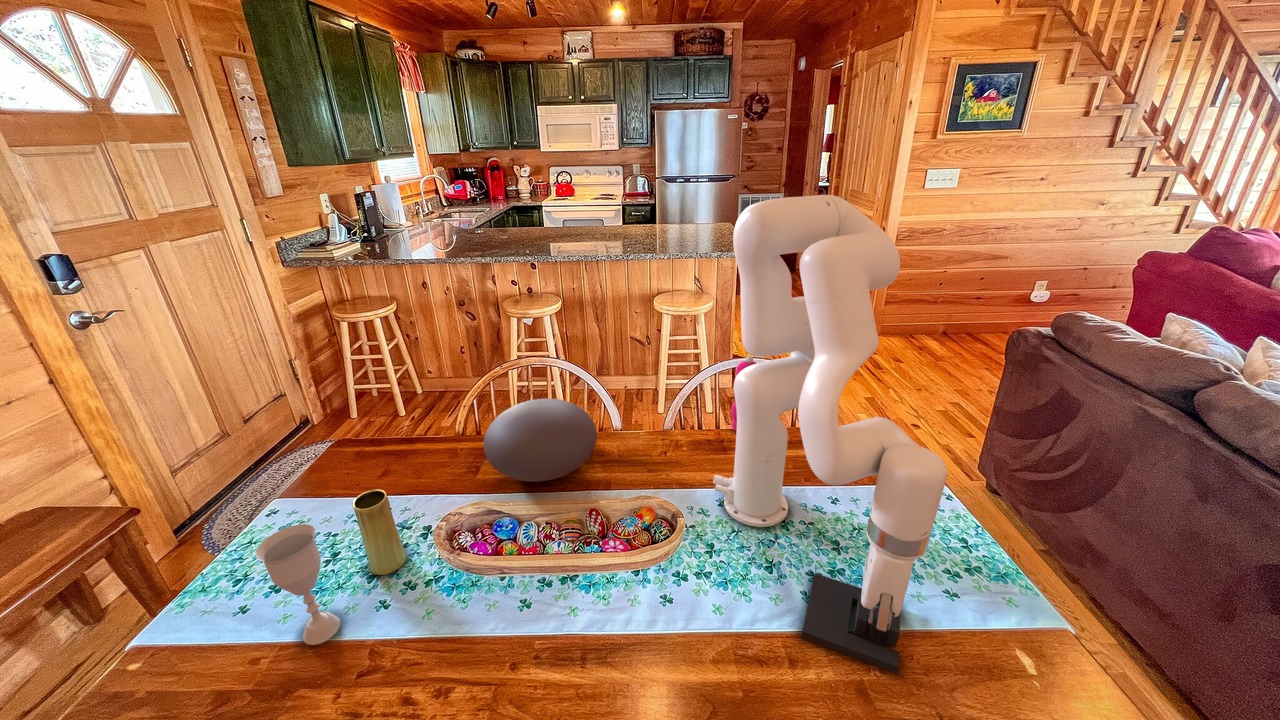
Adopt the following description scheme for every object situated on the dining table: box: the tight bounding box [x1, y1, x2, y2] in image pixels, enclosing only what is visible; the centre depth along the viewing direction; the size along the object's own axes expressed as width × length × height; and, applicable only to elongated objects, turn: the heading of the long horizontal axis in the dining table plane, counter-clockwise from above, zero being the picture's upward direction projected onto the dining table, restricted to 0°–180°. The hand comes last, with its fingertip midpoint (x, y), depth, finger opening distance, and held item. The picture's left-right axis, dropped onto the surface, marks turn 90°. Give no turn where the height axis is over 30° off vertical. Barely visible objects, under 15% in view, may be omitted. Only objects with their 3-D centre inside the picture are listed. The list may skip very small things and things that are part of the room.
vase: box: [352, 489, 408, 576], centre depth 88 cm, size 6×6×14 cm
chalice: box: [254, 523, 341, 646], centre depth 75 cm, size 7×7×18 cm
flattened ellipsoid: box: [483, 398, 598, 483], centre depth 114 cm, size 25×25×15 cm
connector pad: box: [853, 590, 901, 649], centre depth 76 cm, size 6×6×3 cm
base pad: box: [800, 572, 900, 675], centre depth 78 cm, size 13×12×2 cm
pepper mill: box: [730, 355, 758, 432], centre depth 125 cm, size 7×7×20 cm
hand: (875, 622), depth 76 cm, fingers closed on connector pad, 5 cm apart
